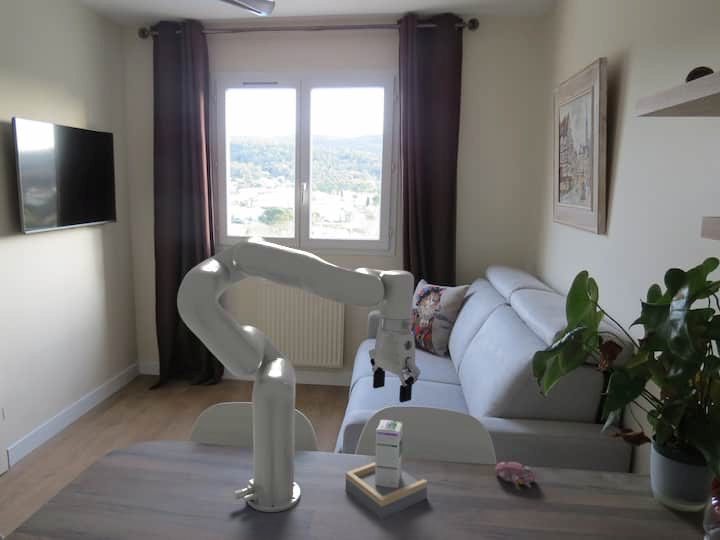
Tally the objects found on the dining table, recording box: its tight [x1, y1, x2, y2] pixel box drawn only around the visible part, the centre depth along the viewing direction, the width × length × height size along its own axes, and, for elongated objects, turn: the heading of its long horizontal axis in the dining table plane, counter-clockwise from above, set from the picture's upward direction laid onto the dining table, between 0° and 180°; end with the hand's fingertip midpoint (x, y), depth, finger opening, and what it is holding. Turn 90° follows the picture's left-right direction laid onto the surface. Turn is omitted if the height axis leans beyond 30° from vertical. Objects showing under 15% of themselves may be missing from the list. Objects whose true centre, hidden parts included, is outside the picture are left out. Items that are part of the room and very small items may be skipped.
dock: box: [345, 461, 428, 519], centre depth 126 cm, size 14×14×4 cm
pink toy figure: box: [494, 461, 536, 485], centre depth 133 cm, size 10×5×7 cm, turn 71°
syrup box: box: [374, 419, 404, 488], centre depth 125 cm, size 6×6×14 cm
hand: (391, 393), depth 123 cm, fingers open, 9 cm apart
